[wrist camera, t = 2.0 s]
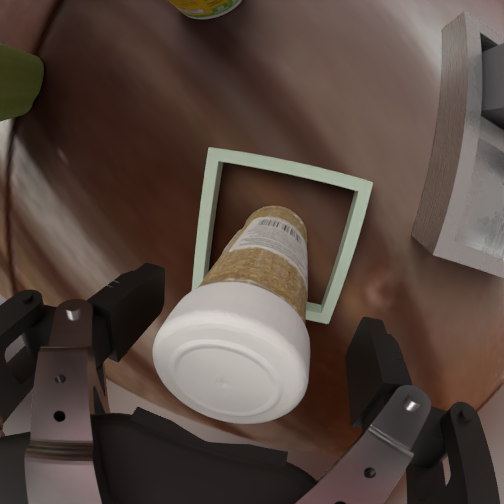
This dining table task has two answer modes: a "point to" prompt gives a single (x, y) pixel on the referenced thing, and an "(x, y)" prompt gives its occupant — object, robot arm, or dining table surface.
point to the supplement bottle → (205, 7)
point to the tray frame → (293, 168)
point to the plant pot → (18, 81)
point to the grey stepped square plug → (493, 85)
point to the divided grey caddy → (464, 159)
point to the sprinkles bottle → (243, 326)
